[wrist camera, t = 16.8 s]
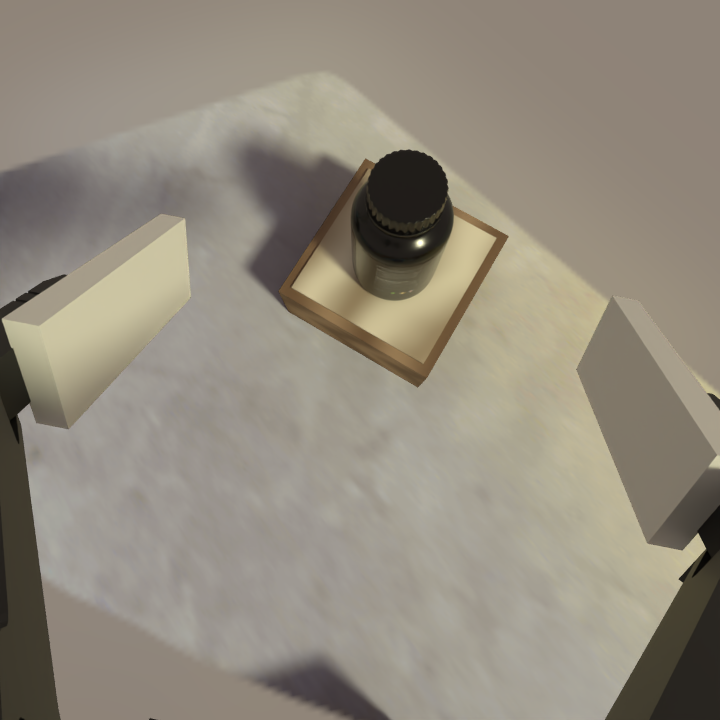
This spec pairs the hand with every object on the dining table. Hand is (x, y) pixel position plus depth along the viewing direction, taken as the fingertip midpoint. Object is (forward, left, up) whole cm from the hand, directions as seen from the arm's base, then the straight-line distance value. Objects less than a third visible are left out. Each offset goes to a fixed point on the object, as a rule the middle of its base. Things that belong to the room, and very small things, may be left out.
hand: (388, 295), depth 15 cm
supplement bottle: (-4, +10, -24) cm, 26 cm away
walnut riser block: (-4, +10, -30) cm, 32 cm away
